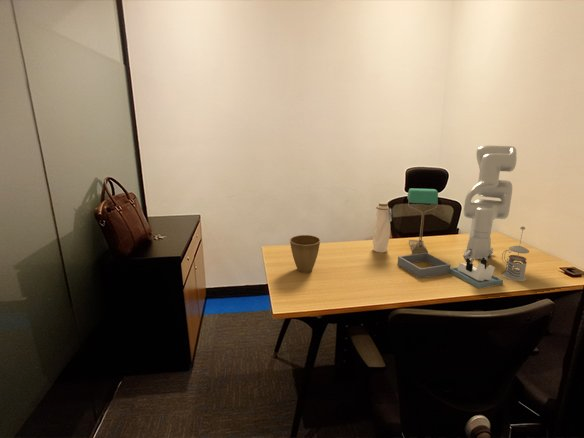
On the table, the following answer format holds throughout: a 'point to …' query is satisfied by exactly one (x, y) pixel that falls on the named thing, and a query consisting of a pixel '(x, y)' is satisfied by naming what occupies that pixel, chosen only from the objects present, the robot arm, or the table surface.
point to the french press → (516, 263)
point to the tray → (479, 284)
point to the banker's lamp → (421, 197)
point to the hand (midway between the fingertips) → (475, 269)
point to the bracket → (478, 271)
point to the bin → (438, 268)
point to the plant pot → (305, 251)
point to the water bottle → (382, 228)
